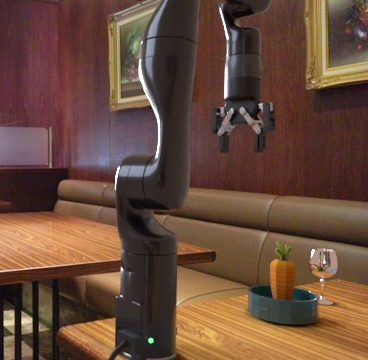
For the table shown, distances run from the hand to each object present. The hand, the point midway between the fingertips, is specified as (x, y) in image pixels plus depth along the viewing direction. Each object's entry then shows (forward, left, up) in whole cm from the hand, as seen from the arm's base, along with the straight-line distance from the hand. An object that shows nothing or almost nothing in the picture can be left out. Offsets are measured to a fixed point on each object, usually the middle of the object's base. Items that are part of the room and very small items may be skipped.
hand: (241, 152), depth 108 cm
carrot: (+2, -9, -34) cm, 35 cm away
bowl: (+2, -9, -34) cm, 35 cm away
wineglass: (+20, -8, -34) cm, 41 cm away
